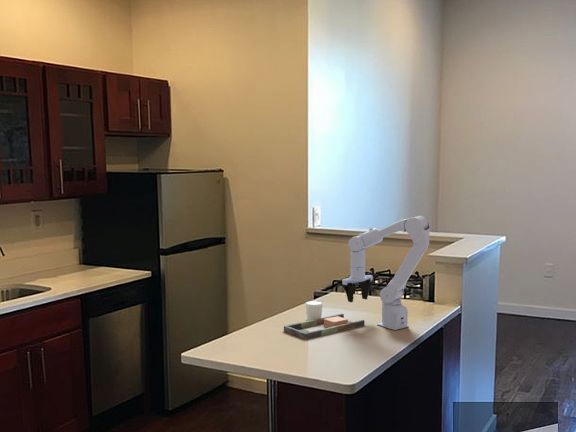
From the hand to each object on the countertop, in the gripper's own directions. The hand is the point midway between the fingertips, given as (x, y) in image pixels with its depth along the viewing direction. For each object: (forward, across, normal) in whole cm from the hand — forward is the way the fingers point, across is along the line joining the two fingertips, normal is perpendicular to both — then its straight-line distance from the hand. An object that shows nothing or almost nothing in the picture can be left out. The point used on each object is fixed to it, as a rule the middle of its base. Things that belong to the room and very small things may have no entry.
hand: (357, 300), depth 240 cm
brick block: (+9, +12, 0) cm, 14 cm away
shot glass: (+8, +12, -12) cm, 19 cm away
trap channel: (+8, +16, 0) cm, 18 cm away
